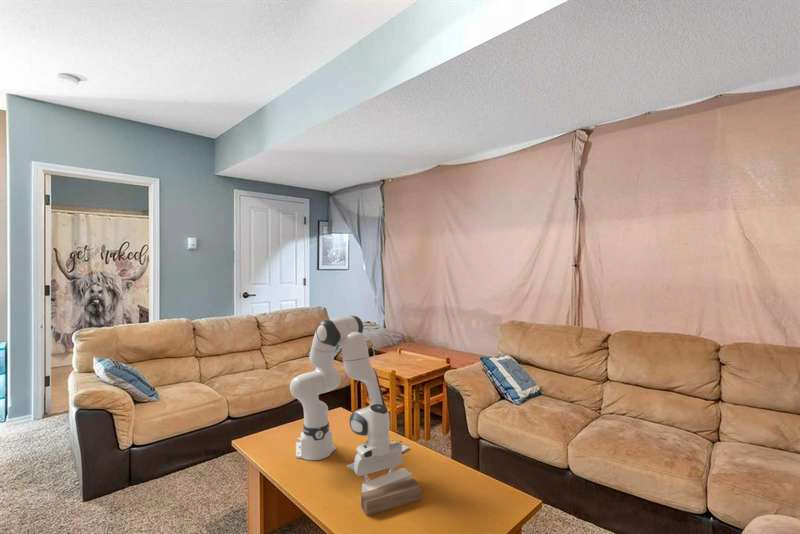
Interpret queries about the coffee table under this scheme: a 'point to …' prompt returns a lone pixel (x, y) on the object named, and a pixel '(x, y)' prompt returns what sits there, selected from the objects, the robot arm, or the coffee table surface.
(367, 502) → the brown wooden block
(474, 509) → the coffee table surface
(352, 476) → the coffee table surface
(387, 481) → the cream floor plank
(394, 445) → the robot arm
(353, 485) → the coffee table surface
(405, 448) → the baseboard molding
